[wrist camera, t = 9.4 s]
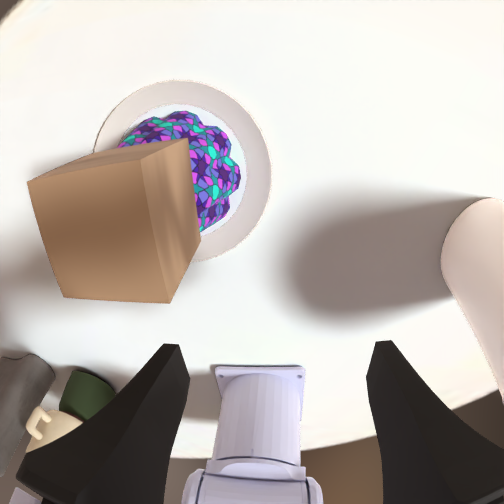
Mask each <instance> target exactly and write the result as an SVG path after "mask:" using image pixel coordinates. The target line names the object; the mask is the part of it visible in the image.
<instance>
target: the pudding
mask: <svg viewBox="0 0 504 504" xmlns="http://www.w3.org/2000/svg"><path fill="white" fill-rule="evenodd" d="M171 104H185V105H191V106H195V107H199V108H202V109H204V110H206V111H208V112H210V113H212V114H214V115H215V116H216V117H218V118H219V119H221V120H222V121H223V122H224V123H225V124H226V125H227V126H228V127H229V128H230V129H231V130H232V132H233V133H234V135H235V136H236V138H237V139H238V141H239V143H240V146H241V148H242V150H243V153H244V157H245V161H246V169H247V181H246V188H245V192H244V195H243V198H242V201H241V203H240V205H239V207H238V208H237V210H236V212H235V213H234V214H233V216H232V217H231V218H230V219H229V220H228V221H227V222H226V223H225V224H224V225H222V226H221V227H220V228H218V229H217V230H215V231H213V232H212V233H209V234H207V235H204V236H201V242H200V244H199V246H198V248H197V250H196V252H195V254H194V256H193V258H192V260H191V262H197V261H203V260H208V259H211V258H214V257H217V256H220V255H222V254H224V253H226V252H228V251H230V250H232V249H233V248H235V247H236V246H237V245H239V244H240V243H241V242H242V241H244V240H245V239H246V238H247V237H248V236H249V235H250V233H251V232H252V231H253V230H254V229H255V228H256V226H257V225H258V223H259V221H260V219H261V218H262V216H263V214H264V212H265V209H266V207H267V204H268V201H269V198H270V193H271V186H272V162H271V157H270V153H269V148H268V145H267V142H266V140H265V138H264V135H263V133H262V130H261V129H260V127H259V126H258V124H257V123H256V121H255V120H254V118H253V117H252V115H251V114H250V113H249V112H248V111H247V110H246V109H245V108H244V107H243V106H242V105H241V104H240V103H239V102H238V101H237V100H235V99H234V98H233V97H231V96H230V95H228V94H227V93H225V92H224V91H222V90H220V89H217V88H215V87H213V86H210V85H208V84H204V83H200V82H196V81H191V80H169V81H163V82H157V83H154V84H152V85H149V86H146V87H144V88H141V89H139V90H138V91H136V92H134V93H133V94H131V95H130V96H128V97H127V98H126V99H124V100H123V101H122V102H121V103H120V104H119V105H118V106H117V107H116V108H115V109H114V110H113V111H112V113H111V114H110V115H109V117H108V118H107V119H106V121H105V123H104V125H103V127H102V129H101V131H100V133H99V135H98V138H97V142H96V145H95V149H94V153H96V152H101V151H106V150H111V149H116V148H121V147H127V146H133V145H139V144H145V143H152V142H159V141H166V140H173V139H182V138H188V142H189V151H190V160H191V168H192V177H193V185H194V193H195V200H196V208H197V215H198V222H199V229H200V232H202V231H203V230H205V229H206V228H208V227H210V226H211V225H213V224H215V223H216V222H218V221H219V220H221V219H222V218H224V217H225V215H226V214H227V212H228V210H229V209H230V204H229V195H230V194H232V193H233V192H234V191H235V190H237V189H238V187H239V183H240V179H241V175H240V170H239V166H238V165H237V164H236V163H235V162H234V161H233V160H232V159H231V158H230V157H229V156H230V150H231V143H230V141H229V139H228V137H227V135H226V133H224V132H223V131H222V130H221V129H219V128H218V127H217V126H204V125H203V124H202V122H201V121H200V119H199V118H198V116H197V115H196V114H193V113H190V112H188V111H177V112H174V113H172V114H171V115H170V116H169V117H168V118H166V119H161V118H157V117H151V118H149V119H146V120H144V121H143V122H142V123H141V124H140V125H139V126H138V127H137V128H136V129H135V130H134V131H133V132H132V133H131V134H130V135H129V136H128V137H127V138H126V139H125V140H124V141H123V142H122V143H121V144H120V145H119V142H120V140H121V138H122V137H123V135H124V133H125V131H126V130H127V129H128V128H129V126H130V125H131V124H132V123H133V122H134V121H135V120H136V119H138V118H139V117H140V116H141V115H143V114H145V113H146V112H148V111H150V110H152V109H155V108H158V107H160V106H164V105H171ZM118 145H119V146H118Z"/></svg>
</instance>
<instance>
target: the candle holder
mask: <svg viewBox="0 0 504 504" xmlns="http://www.w3.org/2000/svg"><path fill="white" fill-rule="evenodd" d="M441 271H442V275H443V278H444V280H445V282H446V284H447V286H448V288H449V290H450V291H451V293H452V295H453V297H454V298H455V300H456V302H457V304H458V305H459V307H460V309H461V311H462V313H463V315H464V316H465V318H466V320H467V322H468V324H469V326H470V328H471V330H472V331H473V333H474V335H475V337H476V339H477V341H478V343H479V345H480V347H481V349H482V352H483V354H484V356H485V358H486V360H487V362H488V364H489V367H490V369H491V371H492V373H493V376H494V378H495V380H496V383H497V385H498V388H499V390H500V393H501V396H502V400H503V404H504V201H502V200H499V199H495V198H487V199H482V200H479V201H477V202H475V203H473V204H471V205H470V206H469V207H467V208H466V209H465V210H464V211H463V212H462V213H461V214H460V215H459V216H458V217H457V218H456V220H455V221H454V223H453V224H452V226H451V227H450V229H449V231H448V233H447V235H446V238H445V240H444V244H443V247H442V252H441Z"/></svg>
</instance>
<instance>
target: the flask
mask: <svg viewBox="0 0 504 504" xmlns="http://www.w3.org/2000/svg"><path fill="white" fill-rule="evenodd" d="M54 380H55V375H54V372H53V370H52V369H51V367H50V366H49V365H48V364H47V363H46V362H45V361H44V360H42V359H41V358H40V357H38V356H36V355H32V354H28V355H27V356H25V357H24V358H22V359H9V358H5V357H1V358H0V477H3V475H4V473H5V471H6V468H7V466H8V464H9V462H10V460H11V458H12V456H13V454H14V452H15V450H16V448H17V446H18V444H19V442H20V440H21V438H22V436H23V434H24V432H25V430H26V423H27V421H28V419H29V418H30V416H31V414H32V412H33V410H34V409H35V408H36V407H38V406H39V405H40V403H41V402H42V400H43V398H44V396H45V395H46V393H47V391H48V390H49V388H50V386H51V385H52V383H53V381H54Z"/></svg>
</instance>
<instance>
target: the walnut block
mask: <svg viewBox="0 0 504 504" xmlns="http://www.w3.org/2000/svg"><path fill="white" fill-rule="evenodd" d="M27 185H28V189H29V194H30V198H31V202H32V205H33V209H34V213H35V217H36V220H37V224H38V227H39V230H40V234H41V237H42V240H43V243H44V246H45V249H46V252H47V255H48V258H49V261H50V263H51V266H52V269H53V272H54V274H55V277H56V279H57V282H58V284H59V287H60V289H61V292H62V294H63V297H65V298H78V299H91V300H106V301H123V302H143V303H168V304H170V302H171V300H172V298H173V296H174V294H175V292H176V290H177V288H178V286H179V284H180V282H181V280H182V278H183V276H184V274H185V272H186V270H187V268H188V266H189V264H190V262H191V260H192V258H193V256H194V254H195V252H196V250H197V248H198V246H199V244H200V242H201V236H200V229H199V222H198V215H197V208H196V200H195V193H194V185H193V177H192V168H191V160H190V151H189V142H188V138H182V139H173V140H166V141H159V142H152V143H145V144H139V145H133V146H127V147H121V148H116V149H111V150H106V151H101V152H96V153H92V154H90V155H87V156H85V157H82V158H80V159H77V160H75V161H72V162H70V163H67V164H65V165H63V166H60V167H58V168H56V169H54V170H51V171H49V172H47V173H45V174H42V175H40V176H38V177H36V178H34V179H32V180H30V181H28V182H27Z"/></svg>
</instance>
